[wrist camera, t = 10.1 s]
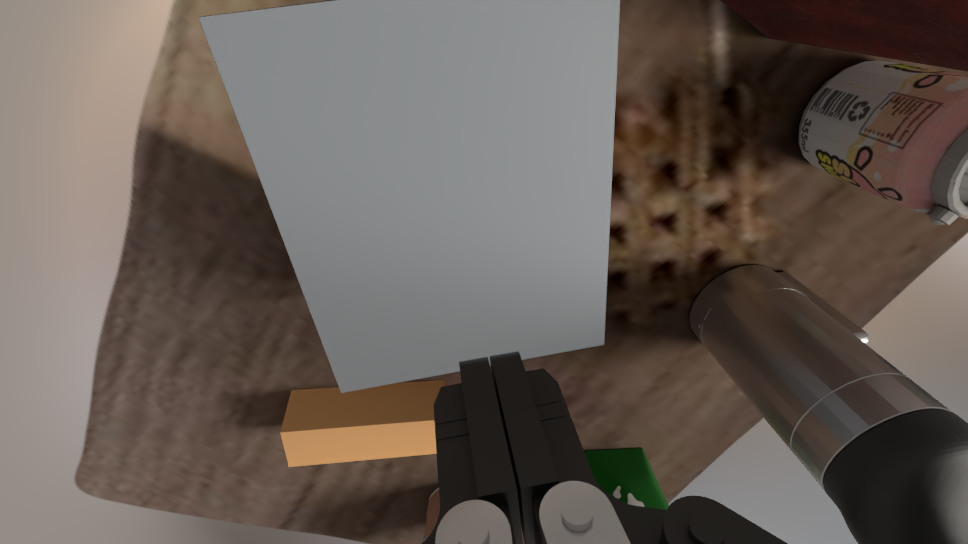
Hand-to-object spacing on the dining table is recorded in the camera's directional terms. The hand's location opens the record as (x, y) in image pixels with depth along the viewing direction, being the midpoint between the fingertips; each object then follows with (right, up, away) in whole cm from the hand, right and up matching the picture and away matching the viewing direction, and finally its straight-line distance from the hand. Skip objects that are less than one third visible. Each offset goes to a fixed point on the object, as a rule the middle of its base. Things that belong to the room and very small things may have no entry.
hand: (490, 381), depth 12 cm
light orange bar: (-11, -10, +34) cm, 37 cm away
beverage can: (+28, +15, +25) cm, 41 cm away
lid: (-2, +6, +13) cm, 14 cm away
